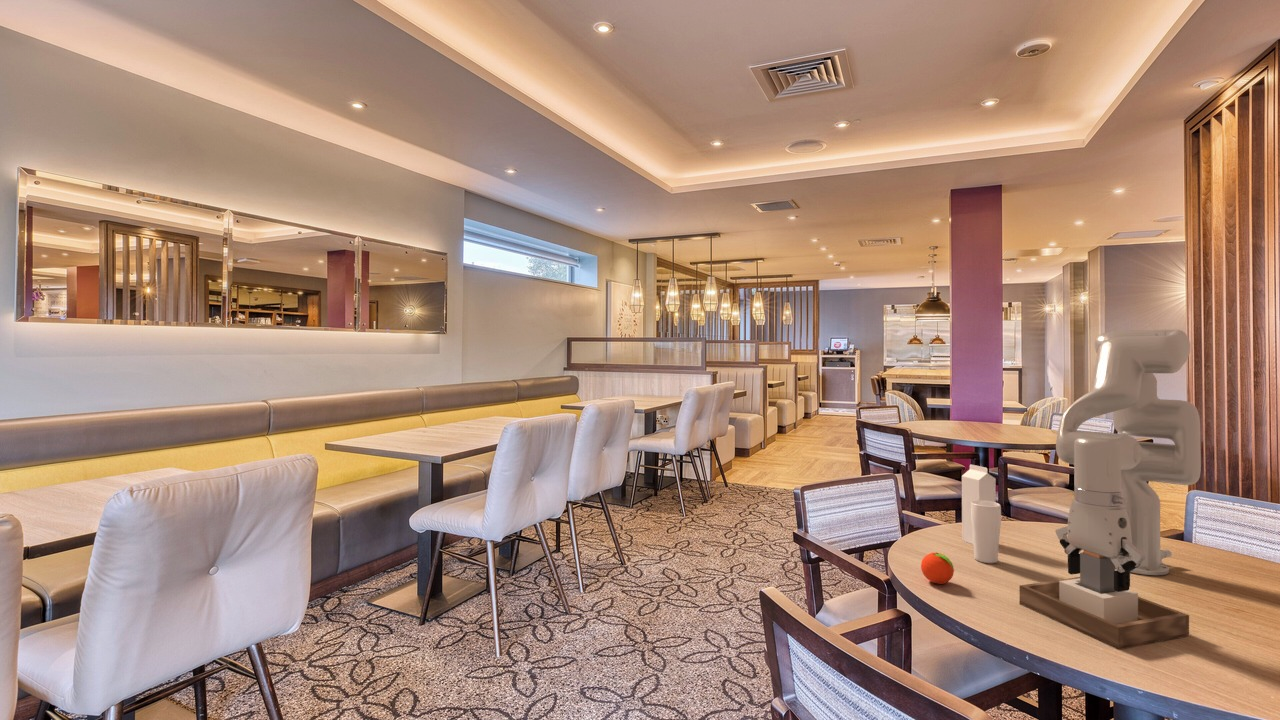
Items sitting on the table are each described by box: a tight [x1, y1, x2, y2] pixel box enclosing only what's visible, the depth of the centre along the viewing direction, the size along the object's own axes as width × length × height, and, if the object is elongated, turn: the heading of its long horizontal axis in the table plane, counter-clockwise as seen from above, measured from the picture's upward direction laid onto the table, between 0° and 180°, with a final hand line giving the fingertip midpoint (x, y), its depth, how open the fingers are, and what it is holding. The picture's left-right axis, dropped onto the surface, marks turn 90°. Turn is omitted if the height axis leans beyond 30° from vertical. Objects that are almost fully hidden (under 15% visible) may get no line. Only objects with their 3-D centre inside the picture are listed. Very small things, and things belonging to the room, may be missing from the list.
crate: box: [1018, 576, 1190, 650], centre depth 116 cm, size 18×20×4 cm
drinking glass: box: [971, 500, 1002, 564], centre depth 150 cm, size 7×7×15 cm
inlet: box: [1059, 578, 1139, 624], centre depth 118 cm, size 9×9×5 cm
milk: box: [961, 464, 997, 545], centre depth 164 cm, size 6×6×22 cm
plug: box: [1079, 550, 1116, 594], centre depth 118 cm, size 4×4×11 cm
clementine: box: [920, 552, 955, 585], centre depth 135 cm, size 8×7×7 cm
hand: (1097, 581), depth 118 cm, fingers open, 8 cm apart
